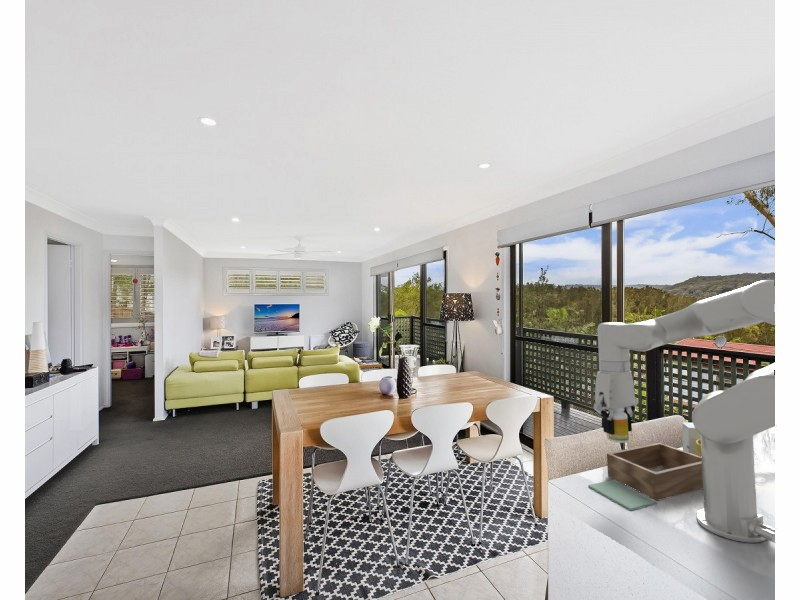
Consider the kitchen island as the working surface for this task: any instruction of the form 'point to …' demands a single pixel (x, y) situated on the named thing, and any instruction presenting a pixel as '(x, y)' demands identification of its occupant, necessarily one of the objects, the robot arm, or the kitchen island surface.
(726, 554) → the kitchen island surface
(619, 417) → the supplement bottle
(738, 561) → the kitchen island surface
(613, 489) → the mat
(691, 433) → the skincare box
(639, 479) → the box
